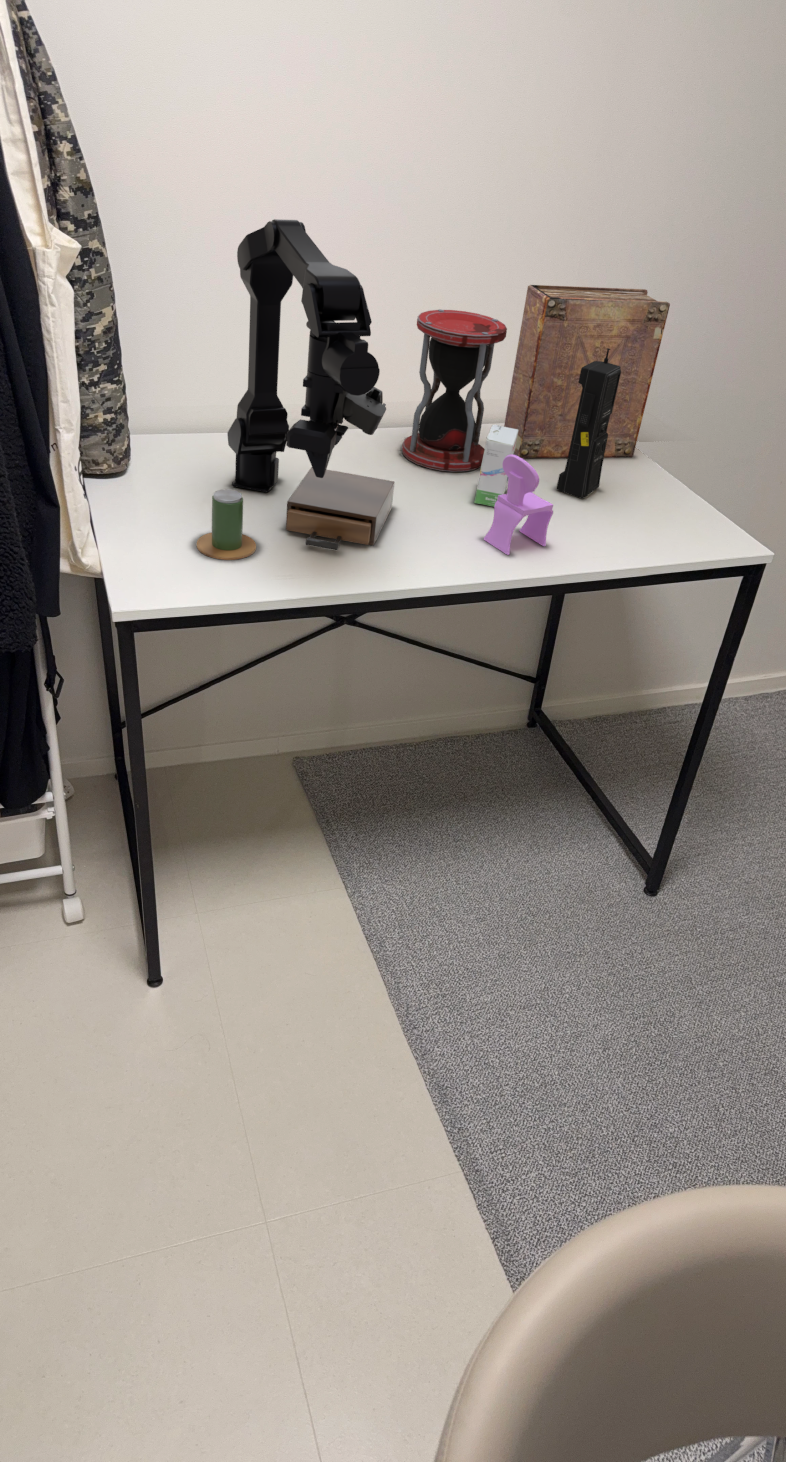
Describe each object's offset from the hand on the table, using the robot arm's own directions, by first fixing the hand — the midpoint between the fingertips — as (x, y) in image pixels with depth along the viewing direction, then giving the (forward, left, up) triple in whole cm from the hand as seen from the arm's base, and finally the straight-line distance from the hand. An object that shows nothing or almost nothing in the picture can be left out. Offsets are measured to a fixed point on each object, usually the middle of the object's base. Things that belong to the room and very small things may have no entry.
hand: (320, 476), depth 154 cm
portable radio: (+39, +44, -13) cm, 60 cm away
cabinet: (+1, +14, -12) cm, 18 cm away
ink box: (+24, +34, -13) cm, 43 cm away
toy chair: (+30, +17, -13) cm, 36 cm away
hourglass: (+13, +50, -13) cm, 53 cm away
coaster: (-13, -3, -12) cm, 18 cm away
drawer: (+1, +9, -12) cm, 15 cm away
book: (+36, +65, -13) cm, 75 cm away
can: (-13, -3, -12) cm, 18 cm away
